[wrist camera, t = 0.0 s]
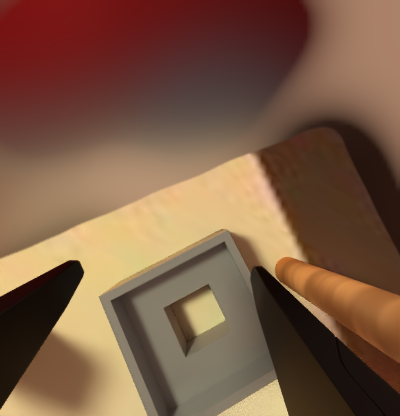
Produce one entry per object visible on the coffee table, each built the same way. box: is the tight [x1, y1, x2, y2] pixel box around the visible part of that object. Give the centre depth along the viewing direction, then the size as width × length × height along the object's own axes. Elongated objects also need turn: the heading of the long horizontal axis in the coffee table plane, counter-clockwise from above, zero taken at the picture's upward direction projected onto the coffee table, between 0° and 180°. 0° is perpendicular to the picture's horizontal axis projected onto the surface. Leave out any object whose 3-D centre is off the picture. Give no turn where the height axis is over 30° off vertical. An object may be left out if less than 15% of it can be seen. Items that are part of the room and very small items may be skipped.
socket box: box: [99, 229, 277, 416], centre depth 19 cm, size 17×17×4 cm
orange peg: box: [275, 257, 400, 364], centre depth 16 cm, size 4×4×13 cm
